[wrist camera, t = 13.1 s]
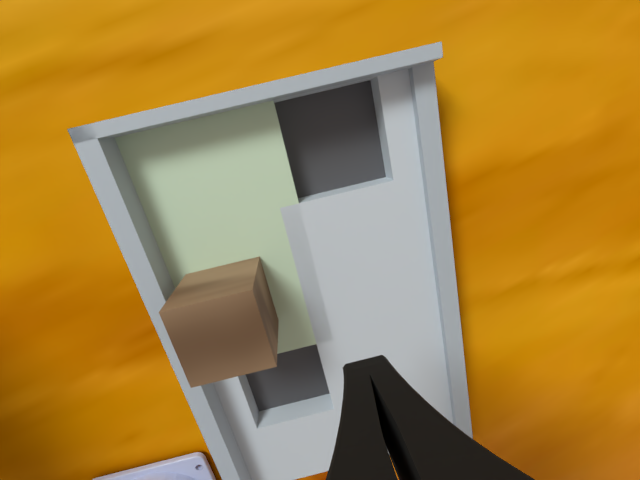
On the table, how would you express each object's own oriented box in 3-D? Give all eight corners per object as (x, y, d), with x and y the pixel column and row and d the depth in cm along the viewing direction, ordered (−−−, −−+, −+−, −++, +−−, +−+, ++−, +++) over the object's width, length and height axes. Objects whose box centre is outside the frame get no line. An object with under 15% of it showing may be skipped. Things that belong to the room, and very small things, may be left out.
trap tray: (457, 415, 25) (480, 453, 22) (244, 470, 25) (238, 517, 22) (415, 56, 17) (441, 41, 14) (105, 129, 17) (67, 129, 14)
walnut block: (278, 320, 19) (276, 366, 16) (209, 337, 19) (190, 387, 15) (259, 256, 18) (252, 289, 14) (185, 274, 18) (158, 312, 14)
